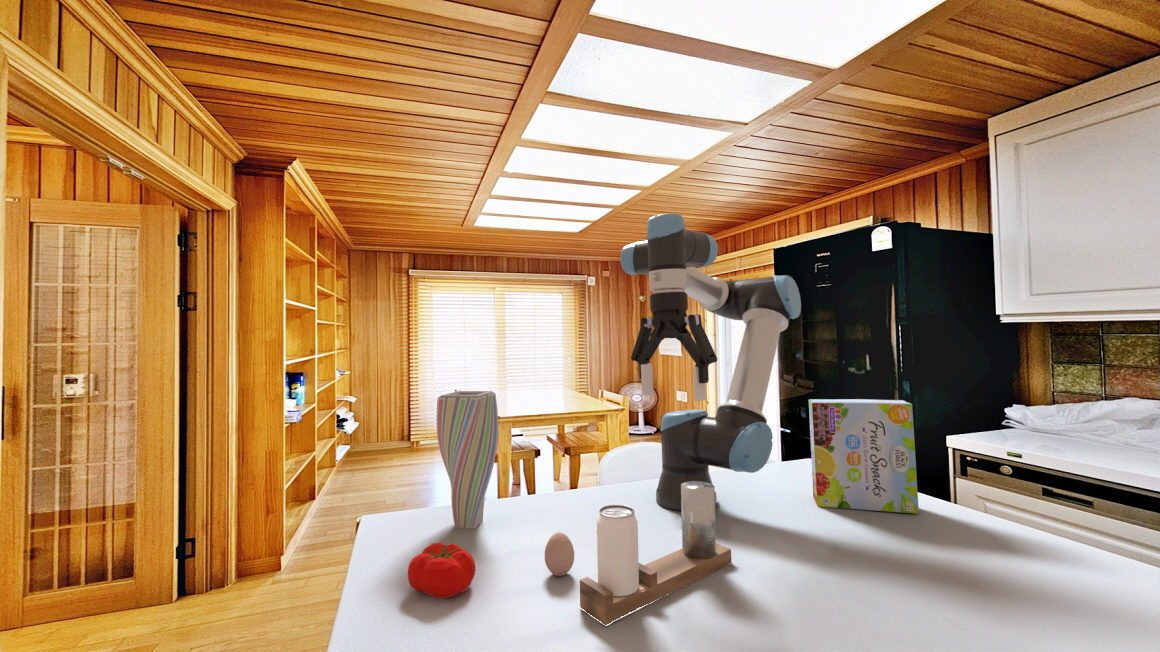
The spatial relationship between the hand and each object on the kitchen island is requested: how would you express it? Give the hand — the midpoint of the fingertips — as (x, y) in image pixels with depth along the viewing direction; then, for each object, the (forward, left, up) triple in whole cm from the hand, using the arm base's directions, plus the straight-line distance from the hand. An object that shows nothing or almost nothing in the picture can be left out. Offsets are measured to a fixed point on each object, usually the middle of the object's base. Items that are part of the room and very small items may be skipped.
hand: (672, 397), depth 96 cm
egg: (-6, -24, -30) cm, 39 cm away
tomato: (-15, -42, -30) cm, 54 cm away
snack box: (+14, +53, -30) cm, 62 cm away
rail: (+8, -13, -30) cm, 33 cm away
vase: (-39, -26, -30) cm, 56 cm away
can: (+8, -23, -27) cm, 36 cm away
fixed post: (+8, -3, -27) cm, 29 cm away
